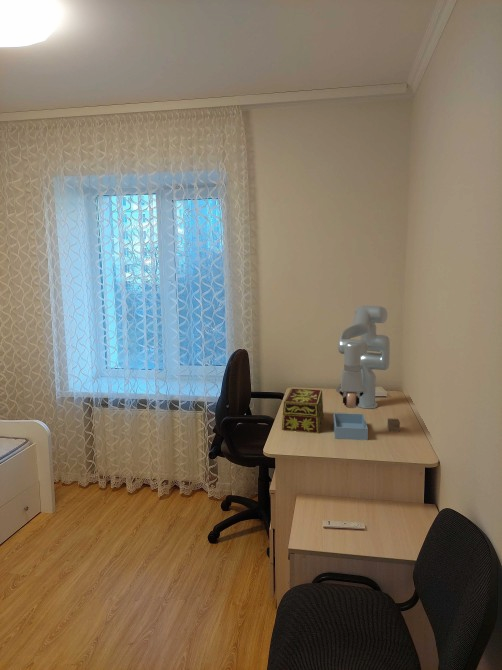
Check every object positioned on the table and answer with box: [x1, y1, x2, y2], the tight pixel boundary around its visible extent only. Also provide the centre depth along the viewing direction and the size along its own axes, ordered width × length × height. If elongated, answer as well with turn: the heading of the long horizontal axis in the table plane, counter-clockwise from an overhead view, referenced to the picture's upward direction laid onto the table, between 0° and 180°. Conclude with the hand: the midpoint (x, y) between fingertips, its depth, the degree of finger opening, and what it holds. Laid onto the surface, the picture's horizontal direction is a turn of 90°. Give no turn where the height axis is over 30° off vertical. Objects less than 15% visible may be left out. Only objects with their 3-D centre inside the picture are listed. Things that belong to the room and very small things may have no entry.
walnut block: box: [387, 418, 401, 433], centre depth 229 cm, size 5×5×5 cm
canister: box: [345, 392, 357, 409], centre depth 220 cm, size 5×5×7 cm
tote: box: [332, 412, 369, 441], centre depth 227 cm, size 21×15×6 cm
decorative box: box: [281, 388, 324, 434], centre depth 239 cm, size 28×19×15 cm
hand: (350, 404), depth 220 cm, fingers closed on canister, 5 cm apart
